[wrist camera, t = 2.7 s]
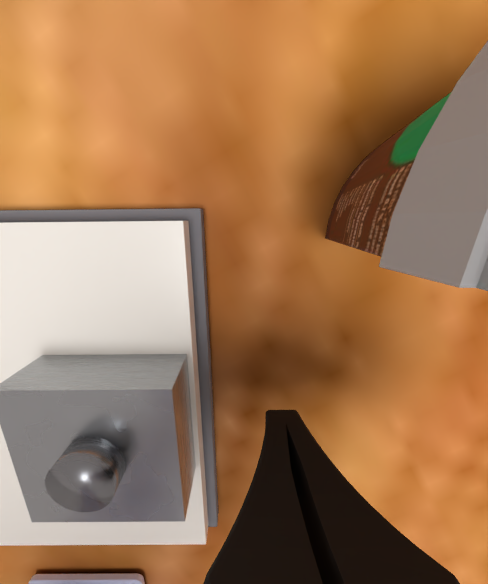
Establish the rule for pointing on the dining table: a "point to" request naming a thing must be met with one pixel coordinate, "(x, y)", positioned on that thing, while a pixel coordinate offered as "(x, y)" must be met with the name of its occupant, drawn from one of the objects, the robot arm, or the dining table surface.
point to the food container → (426, 191)
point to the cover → (101, 437)
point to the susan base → (200, 306)
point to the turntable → (97, 341)
